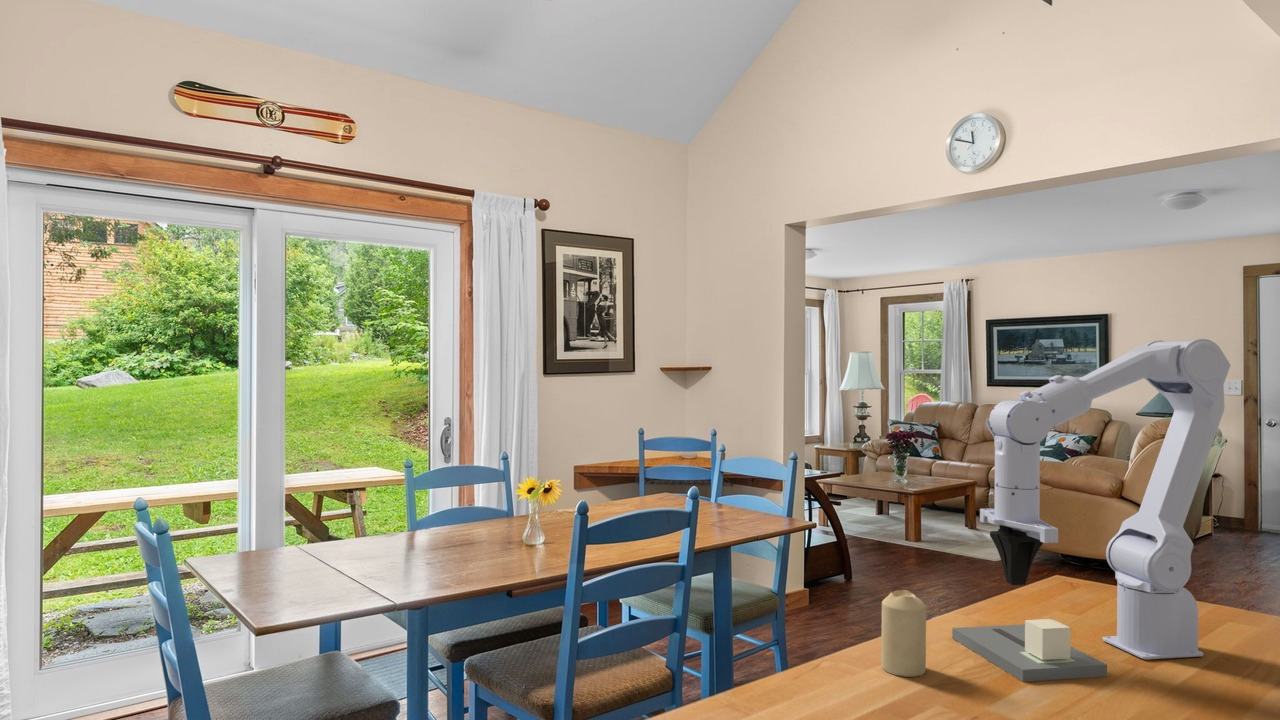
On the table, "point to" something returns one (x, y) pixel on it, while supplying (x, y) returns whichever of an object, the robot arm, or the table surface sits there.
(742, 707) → the table surface
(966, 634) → the slider board
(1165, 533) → the robot arm
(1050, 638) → the knob
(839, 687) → the table surface
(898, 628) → the candle
